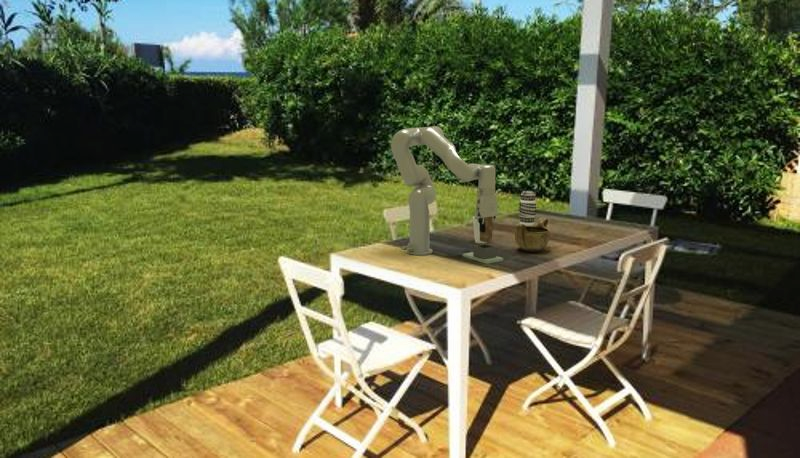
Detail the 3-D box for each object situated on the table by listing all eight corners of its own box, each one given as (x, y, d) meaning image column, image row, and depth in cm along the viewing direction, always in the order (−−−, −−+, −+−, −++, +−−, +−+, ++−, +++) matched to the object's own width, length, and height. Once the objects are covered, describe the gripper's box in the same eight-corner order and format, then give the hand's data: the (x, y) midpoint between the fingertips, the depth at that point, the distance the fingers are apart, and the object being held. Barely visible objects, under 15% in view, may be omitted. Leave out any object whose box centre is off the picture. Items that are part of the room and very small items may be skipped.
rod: (485, 242, 306) (486, 212, 303) (479, 240, 309) (480, 211, 306) (492, 241, 308) (492, 211, 305) (486, 239, 311) (486, 210, 308)
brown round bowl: (530, 244, 341) (532, 215, 338) (559, 249, 329) (560, 220, 326) (503, 250, 326) (504, 220, 323) (532, 257, 314) (533, 226, 311)
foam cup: (493, 243, 343) (493, 218, 340) (476, 244, 340) (477, 219, 337) (485, 239, 352) (486, 215, 349) (469, 240, 349) (469, 216, 346)
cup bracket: (486, 263, 302) (487, 250, 301) (462, 256, 316) (462, 243, 314) (503, 260, 308) (503, 247, 306) (478, 253, 321) (478, 240, 320)
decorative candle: (517, 239, 353) (519, 192, 348) (518, 235, 362) (520, 189, 357) (534, 240, 351) (536, 193, 346) (535, 236, 360) (537, 190, 354)
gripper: (478, 194, 296) (477, 234, 300) (505, 191, 306) (504, 230, 309) (467, 192, 302) (466, 232, 306) (494, 189, 312) (493, 227, 315)
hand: (486, 230), depth 307 cm, fingers closed on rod, 4 cm apart
